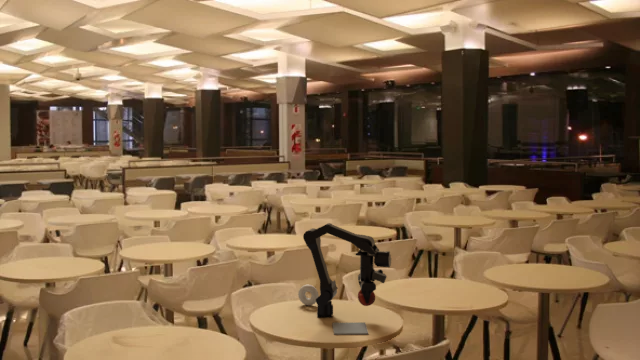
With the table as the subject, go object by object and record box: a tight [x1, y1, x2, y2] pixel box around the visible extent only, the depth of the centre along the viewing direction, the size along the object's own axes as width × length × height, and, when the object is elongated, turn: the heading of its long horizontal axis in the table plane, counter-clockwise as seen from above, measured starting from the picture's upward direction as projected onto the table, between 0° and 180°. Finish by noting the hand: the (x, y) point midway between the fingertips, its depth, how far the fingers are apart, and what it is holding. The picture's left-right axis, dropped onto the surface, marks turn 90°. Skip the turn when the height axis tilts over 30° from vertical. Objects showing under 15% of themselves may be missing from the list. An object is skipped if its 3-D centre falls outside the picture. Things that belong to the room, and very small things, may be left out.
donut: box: [297, 283, 320, 306], centre depth 319 cm, size 10×4×10 cm, turn 70°
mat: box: [332, 321, 369, 336], centre depth 285 cm, size 14×14×1 cm
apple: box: [357, 289, 376, 307], centre depth 297 cm, size 7×8×8 cm
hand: (366, 300), depth 298 cm, fingers closed on apple, 7 cm apart
